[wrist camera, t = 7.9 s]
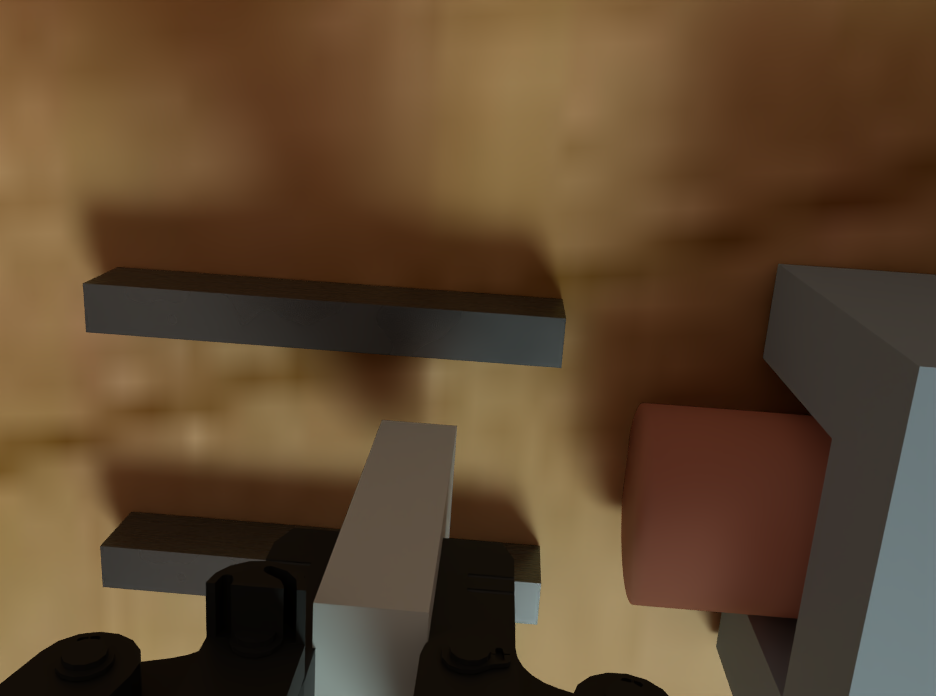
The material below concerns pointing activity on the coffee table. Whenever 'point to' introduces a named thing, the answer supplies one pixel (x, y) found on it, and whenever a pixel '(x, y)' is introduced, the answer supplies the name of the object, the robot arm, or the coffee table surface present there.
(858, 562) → the block
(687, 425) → the dowel
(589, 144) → the coffee table surface
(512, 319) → the rails
